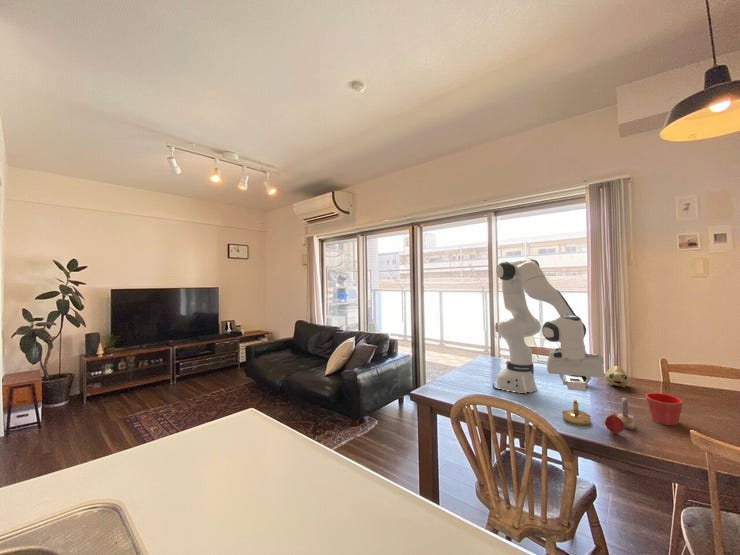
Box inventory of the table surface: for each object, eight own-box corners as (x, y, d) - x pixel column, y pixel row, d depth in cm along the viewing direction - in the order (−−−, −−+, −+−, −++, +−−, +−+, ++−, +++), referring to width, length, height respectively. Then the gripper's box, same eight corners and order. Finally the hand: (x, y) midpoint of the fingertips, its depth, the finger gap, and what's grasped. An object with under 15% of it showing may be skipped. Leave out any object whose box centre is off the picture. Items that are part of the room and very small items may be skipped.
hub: (564, 423, 130) (563, 403, 130) (561, 413, 138) (560, 394, 138) (593, 427, 125) (592, 406, 125) (588, 417, 134) (587, 397, 134)
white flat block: (568, 389, 129) (567, 382, 129) (565, 382, 137) (565, 376, 137) (585, 391, 126) (585, 383, 126) (582, 384, 134) (581, 377, 134)
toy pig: (606, 388, 164) (605, 368, 164) (605, 381, 174) (604, 362, 174) (630, 391, 158) (629, 371, 158) (628, 384, 168) (627, 364, 168)
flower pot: (675, 430, 120) (674, 405, 120) (641, 418, 130) (640, 396, 130) (689, 423, 124) (687, 399, 124) (655, 413, 134) (654, 391, 134)
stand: (620, 427, 124) (618, 400, 124) (616, 422, 128) (615, 395, 128) (636, 429, 122) (634, 402, 122) (632, 424, 126) (630, 397, 126)
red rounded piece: (608, 436, 118) (607, 415, 118) (603, 429, 123) (602, 409, 123) (627, 438, 116) (626, 417, 116) (621, 431, 121) (620, 411, 121)
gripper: (601, 352, 130) (603, 385, 130) (545, 350, 139) (547, 380, 139) (604, 356, 124) (607, 390, 124) (546, 353, 133) (548, 385, 133)
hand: (575, 385), depth 131 cm, fingers closed on white flat block, 6 cm apart
